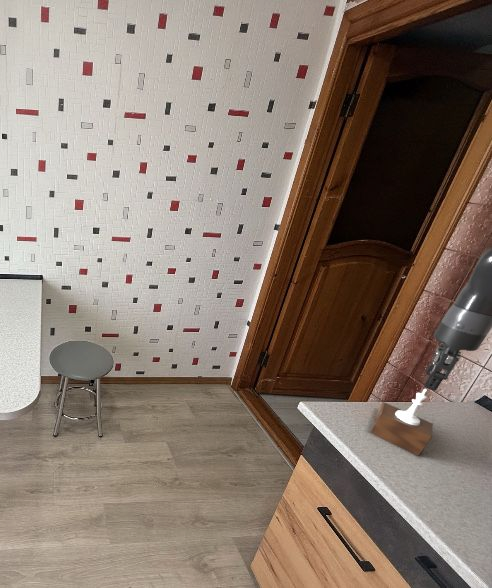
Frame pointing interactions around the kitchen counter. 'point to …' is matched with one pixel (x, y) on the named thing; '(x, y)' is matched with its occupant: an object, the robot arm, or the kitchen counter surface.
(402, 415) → the chess piece
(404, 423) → the wood grain box
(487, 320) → the robot arm
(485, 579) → the kitchen counter surface
